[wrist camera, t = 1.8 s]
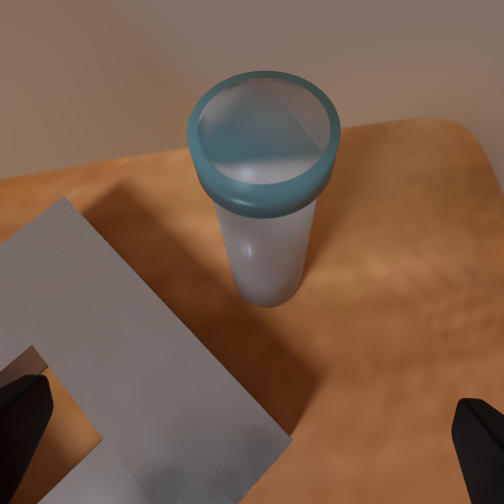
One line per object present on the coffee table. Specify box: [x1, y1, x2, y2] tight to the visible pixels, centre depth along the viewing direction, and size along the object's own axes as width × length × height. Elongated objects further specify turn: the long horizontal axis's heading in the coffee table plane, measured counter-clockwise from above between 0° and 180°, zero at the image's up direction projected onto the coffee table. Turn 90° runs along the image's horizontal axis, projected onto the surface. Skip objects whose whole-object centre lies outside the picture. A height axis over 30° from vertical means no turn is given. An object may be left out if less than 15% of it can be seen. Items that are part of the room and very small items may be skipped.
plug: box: [187, 71, 340, 308], centre depth 18 cm, size 5×5×13 cm
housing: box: [0, 197, 293, 504], centre depth 20 cm, size 18×18×3 cm
